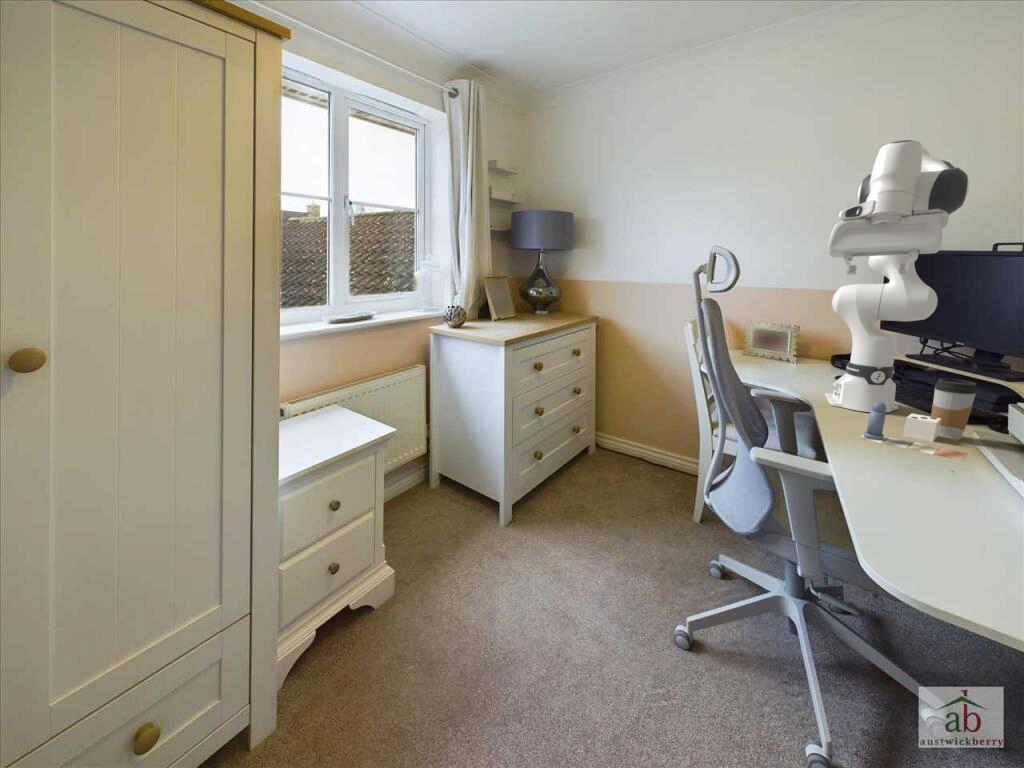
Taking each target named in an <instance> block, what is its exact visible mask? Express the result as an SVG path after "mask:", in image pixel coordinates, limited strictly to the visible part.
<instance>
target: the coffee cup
mask: <svg viewBox="0 0 1024 768" xmlns="http://www.w3.org/2000/svg"><path fill="white" fill-rule="evenodd" d="M933 389H934V393H933V401H932V405H931V406H932V408H931V413H930V414H931V415H930V417H935V418H941V422H940V427H939V432H938V435H940V436H944V437H950V438H953V439H955V440H957V441H960V440H961V439H962V437H963V435H964V432H965V429H966V428H967V424H968V421H969V418H970V414H971V412H972V409H973V404H974V401H975V397H976V395H977V394H978V391H977V390H978V387H977V383H976V382H973V381H969V380H964V379H956V378H955V379H954V378H938V380H937V382H935V385H934V387H933Z"/></svg>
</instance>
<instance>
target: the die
mask: <svg viewBox="0 0 1024 768" xmlns="http://www.w3.org/2000/svg"><path fill="white" fill-rule="evenodd" d="M940 422H941V418H935V417H931V416H929V415H928V416H927V415H924V414H917V413H910V414H909V415H908V416H906V417H905V423H904V428H903V434H902V436H903V437H908V438H912V439H918V440H921V441H922V440H923V441H928V442H934V441H936V439H937V438H938V435H939V434H938V432H939V427H940Z"/></svg>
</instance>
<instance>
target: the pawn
mask: <svg viewBox="0 0 1024 768" xmlns="http://www.w3.org/2000/svg"><path fill="white" fill-rule="evenodd" d="M886 415H887V412H886V405H885V404H884V403H882V402H876V403H874V404H873V405H872V407H871V410H870V412H869V415H868V416H869V417H868V423H867V427H866V431H863V432H864V434H863V435H864V437H866V438H869V439H873V440H883V438H884V436H885V435H884V434H883V431H884V426H885V420H886Z"/></svg>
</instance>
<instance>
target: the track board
mask: <svg viewBox="0 0 1024 768" xmlns="http://www.w3.org/2000/svg"><path fill="white" fill-rule="evenodd" d="M858 439H860V440H864V441H869V442H874V443H879V444H883V445H887V446H892V447H897V448H900V449H901V448H902V449H904V450H905V449H908V450H911V451H915V452H920V453H925V454H930V455H935V456H937V457H943V458H947V459H953V460H957V461H963V460H964V458H965V456H967V452H964V451H959V450H952V449H949V448H943V447H940V449H939V446H933V445H929V444H926V443H925V444H924V443H920V442H914V443H913V441H911V440H905V439H900V438H895V437H890V436H889V437H888V436H886V435H884V438H883V440H873V439H869V438H866V437H864V434H862V435H861V436H859V437H858Z"/></svg>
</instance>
